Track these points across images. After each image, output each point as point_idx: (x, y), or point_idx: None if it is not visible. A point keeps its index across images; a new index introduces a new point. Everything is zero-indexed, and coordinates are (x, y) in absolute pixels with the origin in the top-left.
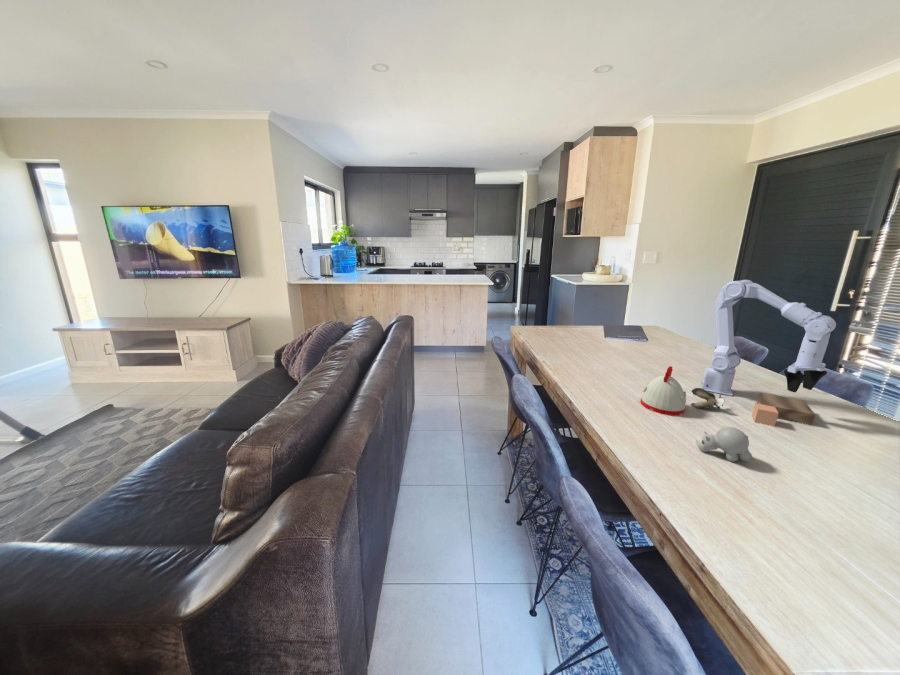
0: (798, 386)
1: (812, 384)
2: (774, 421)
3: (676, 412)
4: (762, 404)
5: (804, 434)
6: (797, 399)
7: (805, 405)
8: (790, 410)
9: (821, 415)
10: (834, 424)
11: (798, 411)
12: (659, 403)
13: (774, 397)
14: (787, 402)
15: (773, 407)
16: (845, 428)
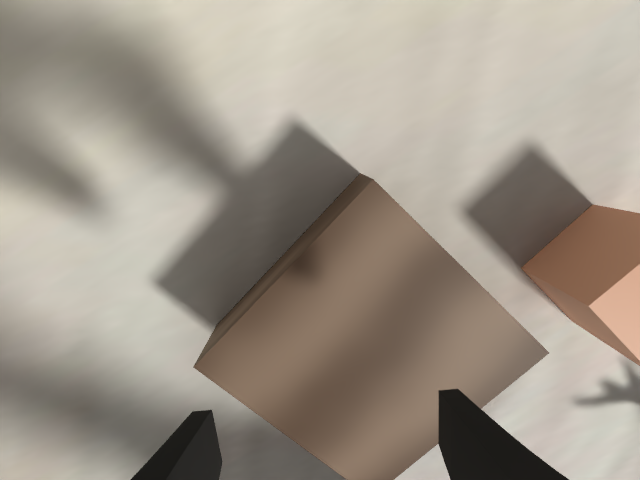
0: (501, 441)
1: (184, 469)
2: (623, 215)
3: None
4: (627, 349)
5: (531, 96)
6: (224, 385)
7: (275, 305)
8: (464, 269)
9: (153, 259)
10: (199, 158)
11: (436, 243)
12: None
13: (357, 429)
14: (354, 360)
15: (611, 300)
16: (186, 105)
